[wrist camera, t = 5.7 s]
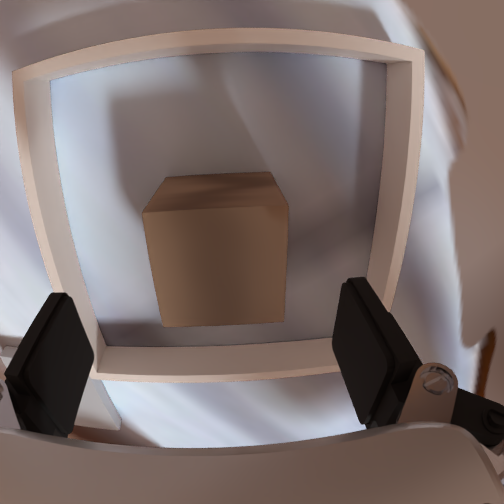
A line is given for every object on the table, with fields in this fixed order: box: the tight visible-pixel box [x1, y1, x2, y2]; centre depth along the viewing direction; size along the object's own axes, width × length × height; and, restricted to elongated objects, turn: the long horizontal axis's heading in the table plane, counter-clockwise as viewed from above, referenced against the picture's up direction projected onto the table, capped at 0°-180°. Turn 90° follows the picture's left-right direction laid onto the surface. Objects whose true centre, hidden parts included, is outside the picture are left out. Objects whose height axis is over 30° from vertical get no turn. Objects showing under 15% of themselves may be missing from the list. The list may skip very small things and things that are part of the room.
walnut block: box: [142, 172, 289, 327], centre depth 17 cm, size 6×6×6 cm
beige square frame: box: [12, 28, 424, 383], centre depth 18 cm, size 22×22×3 cm
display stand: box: [0, 346, 122, 431], centre depth 25 cm, size 10×10×2 cm
